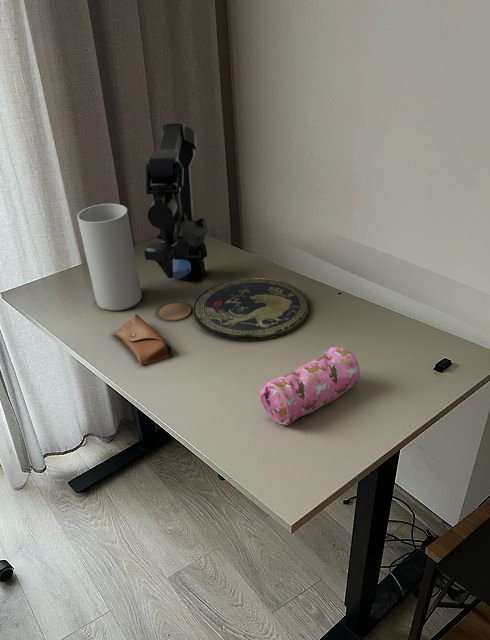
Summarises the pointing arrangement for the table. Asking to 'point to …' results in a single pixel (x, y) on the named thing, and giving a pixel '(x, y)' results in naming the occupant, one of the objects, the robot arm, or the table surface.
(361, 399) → the table surface
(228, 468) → the table surface
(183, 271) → the flat blue disc
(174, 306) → the coaster
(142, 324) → the sunglasses case
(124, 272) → the cylinder vase
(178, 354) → the table surface
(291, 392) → the pencil case
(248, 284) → the decorative plate
